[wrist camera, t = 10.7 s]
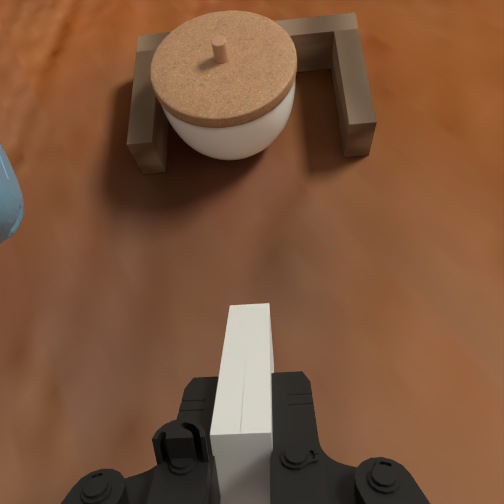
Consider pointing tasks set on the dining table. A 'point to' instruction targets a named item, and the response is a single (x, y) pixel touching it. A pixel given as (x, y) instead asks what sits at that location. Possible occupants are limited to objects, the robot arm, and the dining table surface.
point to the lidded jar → (226, 82)
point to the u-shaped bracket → (308, 59)
